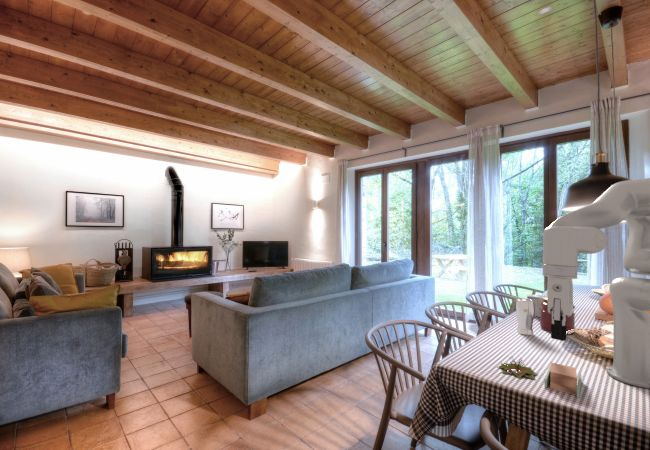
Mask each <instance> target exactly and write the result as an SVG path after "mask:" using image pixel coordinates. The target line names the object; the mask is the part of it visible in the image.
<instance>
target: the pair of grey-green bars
mask: <svg viewBox="0 0 650 450" xmlns="http://www.w3.org/2000/svg"><path fill="white" fill-rule="evenodd" d="M550 367H551V365H549V366H548V369H547V372H546V375H545V376H544V388H545V389H547V388H548V385H549V384H550ZM581 386H582V373H580V372H579V373H578V377H577V395H576V397H577V398H580V395H581V394H580V393H581V388H582V387H581Z"/></svg>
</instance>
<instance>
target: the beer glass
mask: <svg viewBox="0 0 650 450" xmlns="http://www.w3.org/2000/svg"><path fill="white" fill-rule="evenodd" d="M515 303H516V304H515V312H516V318H517V329H516V330H517V331H516V332H517V333H518V334H519V335H523V336H527V337H528V336H534V331H533V323H534V319H535V316H534V314H535V306H534V300H531V299H527V297H526V298H525V297H523V298H522V297H518V298H516V302H515Z"/></svg>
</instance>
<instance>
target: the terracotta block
mask: <svg viewBox="0 0 650 450" xmlns="http://www.w3.org/2000/svg"><path fill="white" fill-rule="evenodd" d="M550 366H551V367H550V380H549V384H550V387H549V388H550V389H551V390H556V391H560V392H561V393H562V392H563V393H568V394H571V395H574V396H577V384H578V376H577V371H576V370H577V369H576V367H574V366H568V365H565V364H560V363H556V362H550Z"/></svg>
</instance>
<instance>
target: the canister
mask: <svg viewBox="0 0 650 450" xmlns="http://www.w3.org/2000/svg"><path fill="white" fill-rule="evenodd" d="M544 296H545V297H543V298H542V299H544V300H543V301H541V302H540V304H541V305H542V306H541V309H540V311H541V317H540V322H539V325H540V328H541V329H542V330H544V331H546V332H550V333H551V323H552V313H551V314H550V313H549V312H548V304H547V294H546V295H544ZM575 309H576V306H575V305H574V304H573V313H572V315H571V316H570V317H568V315H566V324H565V325H567V326H566V331H568V330H571V329H575V330H576V326H575V323H576V322H575V319H576V314H575Z"/></svg>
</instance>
